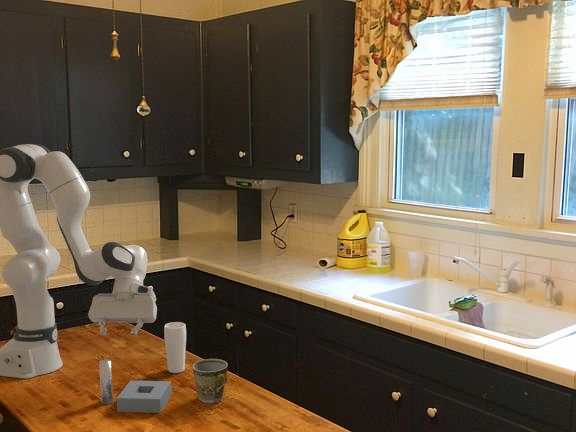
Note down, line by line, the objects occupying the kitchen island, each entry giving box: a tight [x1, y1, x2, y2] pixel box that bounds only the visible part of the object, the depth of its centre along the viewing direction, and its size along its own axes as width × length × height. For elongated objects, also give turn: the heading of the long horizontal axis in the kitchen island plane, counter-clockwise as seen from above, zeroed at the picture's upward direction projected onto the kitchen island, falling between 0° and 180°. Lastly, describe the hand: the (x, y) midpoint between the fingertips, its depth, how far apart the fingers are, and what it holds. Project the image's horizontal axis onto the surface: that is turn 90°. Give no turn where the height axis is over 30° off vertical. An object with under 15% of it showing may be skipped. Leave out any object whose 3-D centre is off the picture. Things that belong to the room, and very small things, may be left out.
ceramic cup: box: [192, 358, 229, 404], centre depth 183 cm, size 13×10×10 cm
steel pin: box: [98, 358, 114, 405], centre depth 182 cm, size 3×3×12 cm
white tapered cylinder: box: [163, 321, 187, 374], centre depth 204 cm, size 7×7×15 cm
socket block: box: [116, 380, 173, 414], centre depth 182 cm, size 12×12×4 cm
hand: (118, 334), depth 192 cm, fingers open, 8 cm apart
